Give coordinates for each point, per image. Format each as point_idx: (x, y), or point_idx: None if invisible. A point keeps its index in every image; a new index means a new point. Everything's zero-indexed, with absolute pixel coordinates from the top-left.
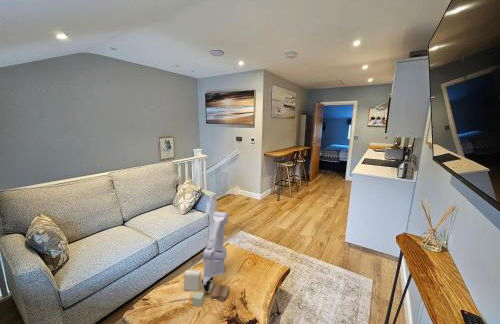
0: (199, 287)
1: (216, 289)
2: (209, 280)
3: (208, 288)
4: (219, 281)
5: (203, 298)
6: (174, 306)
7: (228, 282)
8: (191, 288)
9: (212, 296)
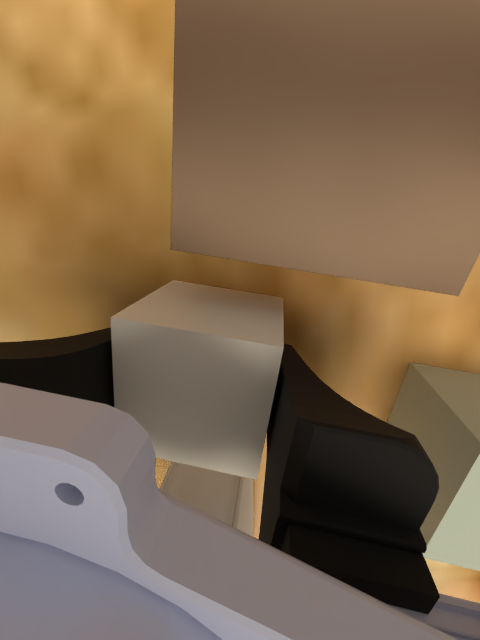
0: None
1: (304, 206)
2: (129, 390)
3: (309, 368)
4: (34, 207)
5: (453, 390)
6: (455, 592)
7: (4, 27)
8: (253, 527)
9: (463, 257)
